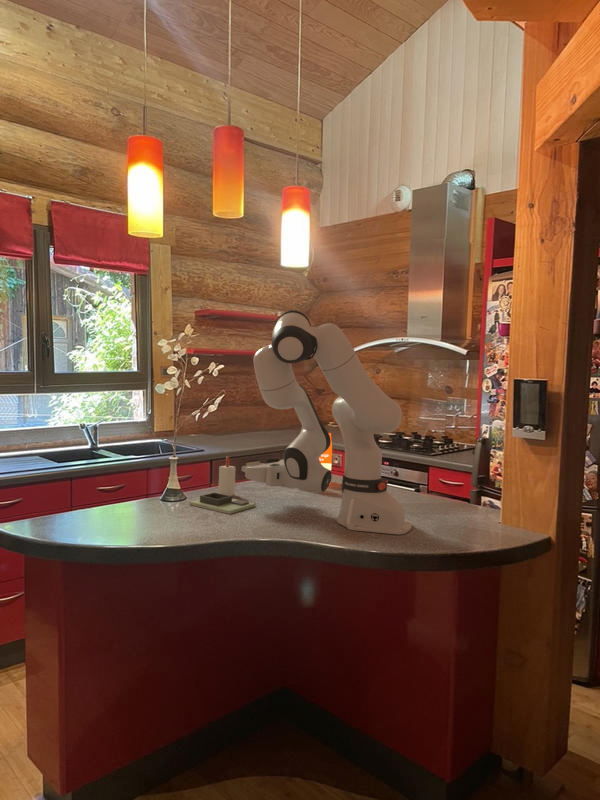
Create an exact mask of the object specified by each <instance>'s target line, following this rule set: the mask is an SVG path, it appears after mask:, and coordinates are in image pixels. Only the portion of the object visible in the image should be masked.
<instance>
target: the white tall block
mask: <svg viewBox="0 0 600 800" xmlns="http://www.w3.org/2000/svg"><path fill="white" fill-rule="evenodd" d="M235 487H236V466H233V465H230V456H226V457H225V465H221V466H219V467H218V488H217V489H218V492H217V493H219V494H224V495H229V496H232V497H233V496H235V493H236V491H235Z"/></svg>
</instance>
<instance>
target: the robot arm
mask: <svg viewBox="0 0 600 800" xmlns="http://www.w3.org/2000/svg"><path fill="white" fill-rule="evenodd" d="M271 333H272V337H271V343H270V344H268V345H265V346H263V347H261V348H259V349H257V351H256V352H255V353H254V356H253V359H252V360H253V369H254V374H255V378H256V381H257V385H258V388H259V392H260V394H261V398H262V399H263V401H264V402H265V404H266V405H268V406H269V407H271V408H272V409H276V410H288V409H292V408H293V409H294V411H295V414H296V416H297V418H298V420H299V421H300V424H301V429H300V433H299V434H298V435H297V436H296V437H295V438H294V439H293V440H292V441H291V442H290V443H289V445H288V446H287V447H286V448H285V449H284V451H283V454H282V459H280V460H279V461H275V462H270V463H264V462H263V463H262V462H259V463H258V464H257V465H251V466H249V465H248V466H247V465H243V466H241V472H243V473H245V478H246V479H247V480H250V481H254V482H258V483H262V484H265V485H266V487H267V486H268V487H281V488H287V489H297V490H299V491H302V492H304V493H305V492H306V493H313V494H321V493H324V492H325V491H326V490H327V489H328V488H329V486H331V483H330V482H332V477H333V475H332V470H331V471H330V470H329V469H327V468H325V467H324V466H323V465H322V464H321V463H320V462H319V460H318V458H319V457H320V456H321V455H322V454H323V453H324V452H325V451H326V450H327V449H328V448H329V447H330V444H331V442H332V438H331V439H330V435H329V433H330V432H328V429H326V427H325V426H324V424H323V423H322V421H321V418H320V417H319V415H318V412H317V410H316V408H315V406H314V404H313V401H312V399H311V397H310V395H309V393H308V391H307V390H306V389H305V388H304V387H303V386H302V385H300V384H299V382H298V381H297V379H296V376H295V375H296V374H295V372H294V370H293V366H292V365H293V364H297V363H300V362H302V361H308V360H311V359H313V358H314V360H315V361H316V363H317V365H318V366H319V369H320V370H321V372H322V374H323V375H324V377H325V380H326V381H327V383H328V385H329V387H330V389H331V390H332V392H334V394H336V395H338V396H337V398H336V399H335V400H334V402H333V403H332V407H331V412H332V417H333V419H334V421H335V422H336V423H337V425H338V427H339V430H340V433H341V436H342V441H343V445H344V471H343V473H344V474H343V475H342V481H341V493H342V497H341V503H340V508H339V512H338V516H337V518H336V522H337V524H339V525H341V526H343V527H345V528H346V529H347V530H350V531H358V532H359V531H360V532H366V533H367V532H368V533H369V532H370V533H378V534H388V535H398V536H399V535H405V534H407V533H408V532H410V531H411V530H412V528H413V526H412V525H413V524H412V522H411V521H410V520H408V519H406V515H405V508H404V506H403V505H402V503H400V501H399V500H397V499H396V498H395V497H394V496H393V495H392V494H390V493H389V491H388V490H387V489H388V485H389V483H388V482H389V480H388V479H387V480H385V479H384V478H383V477H382V466H383V464H382V462H383V461H382V460H383V452H382V450H381V448H380V447H379V445H378V444H377V442H376V440H375V436H374V434H379V435H380V434H389V433H393V432H395V431H396V430H397V429H398V428H399V427H400V425H401V423H402V419H403V412H402V411H403V410H402V408H401V406H400V404H399V403H398V402H397V401H395V400H393V399H392V398H391V397H390V396H389V395H387V394H386V393H385V392H384V391H383V390H382V389H381V388H380V387H379V386H378V384H376V383H375V381H374V380H373V379H372V377H370V375H369V374H368V373H367V371H366V369H365V368H364V366H363V364H362V363H361V362H362V361H360V358H359V356H358V355H357V353H356V351H355V349H354V347H353V345H352V344H351V342H350V340H349V339H348V337H347V335H346V334H345V333H344V332H343V331H342V329H341V328H340V327H339V326H338V325H336V324H335V323H328V322H327V323H323V324H321V325H318V326H312V323H311V322H310V320H309V318H308V316H307V315H306V314H304V313H303V312H302V311H299V310H295V309H292V310H291V309H290V310H287V311H284V312H283V313H282V314H280V316H279V317H277V319H276V320H275V323H274V327H273V329H272V332H271Z"/></svg>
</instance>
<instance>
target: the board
mask: <svg viewBox="0 0 600 800" xmlns="http://www.w3.org/2000/svg"><path fill="white" fill-rule="evenodd" d="M188 504H189V505H190V506H194V507H198V508H203V509H206V510H211V511H215V512H219V513H223V514H224V513H225V514H228V515H231V514H234V513H237V512H241V511H244V510H248V509H251V508H256V503H255V502H250V501H247V500H242V499H237V498H233V495H232V496H229V495H224V494H219V493H218V492H210V493H206V494H202V495H199V499H195V500H191V501H189V503H188Z"/></svg>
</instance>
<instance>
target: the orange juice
mask: <svg viewBox="0 0 600 800" xmlns="http://www.w3.org/2000/svg"><path fill="white" fill-rule="evenodd" d="M328 433H329V435H330V439H331V440H332V433H331V432H328ZM332 457H333V443H332V441H331V444H330V447H329V448H328V449H327V450H326V451H325V452H324V453H323V454H322V455H321V456H320V457H319V461H320V463H321V464H322V465H323V466H324V467H325V468H327V469H329V470H330V471H331V472H332V466H333V465H332ZM331 482H332V481H331ZM331 482H330V484H331Z"/></svg>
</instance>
